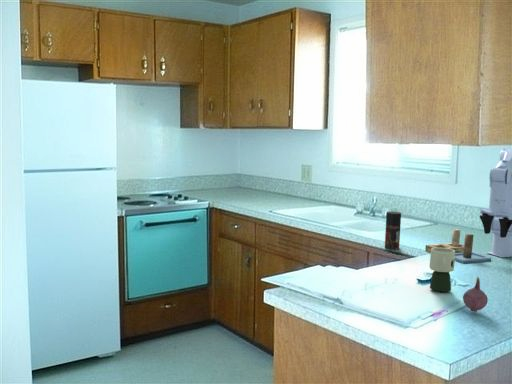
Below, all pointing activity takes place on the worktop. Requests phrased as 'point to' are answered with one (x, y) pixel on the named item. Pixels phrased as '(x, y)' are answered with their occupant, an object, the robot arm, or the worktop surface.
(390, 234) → the deodorant
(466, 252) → the walnut dowel
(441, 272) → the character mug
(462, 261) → the tray
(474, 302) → the vegetable
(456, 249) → the holder block
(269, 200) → the worktop surface
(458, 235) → the birch dowel
